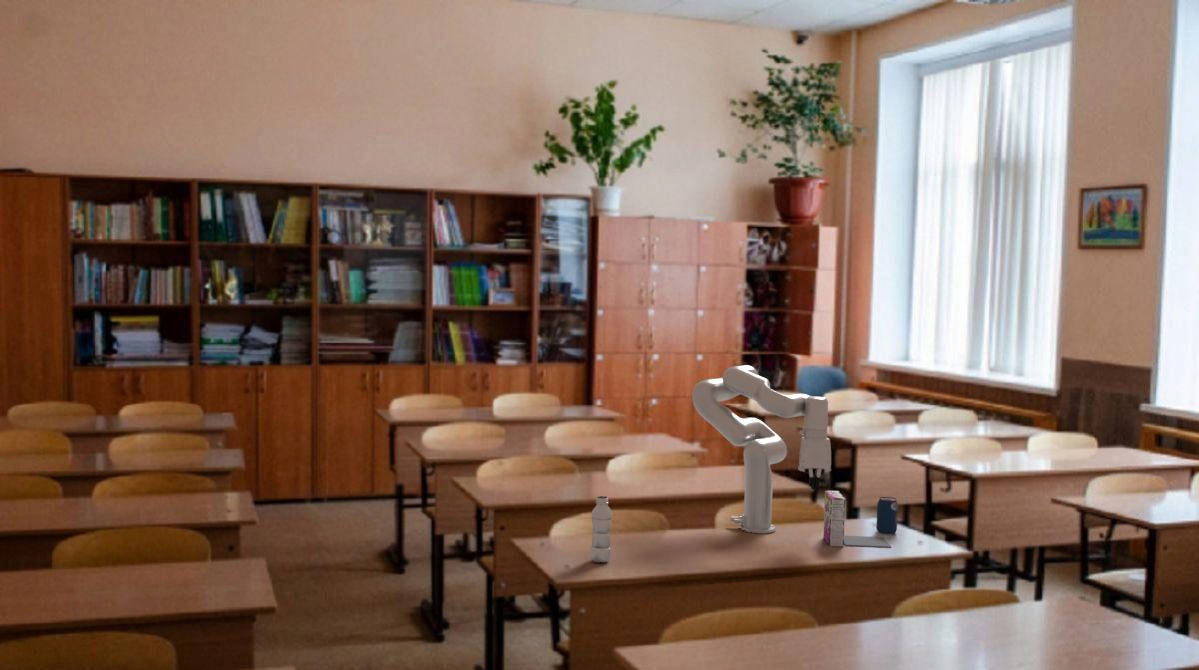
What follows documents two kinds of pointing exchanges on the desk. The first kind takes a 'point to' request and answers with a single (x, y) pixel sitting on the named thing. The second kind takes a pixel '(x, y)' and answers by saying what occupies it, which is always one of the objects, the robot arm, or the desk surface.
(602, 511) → the plastic bottle
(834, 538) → the candy bar box
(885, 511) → the soda can
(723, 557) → the desk surface
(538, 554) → the desk surface
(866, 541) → the mat
